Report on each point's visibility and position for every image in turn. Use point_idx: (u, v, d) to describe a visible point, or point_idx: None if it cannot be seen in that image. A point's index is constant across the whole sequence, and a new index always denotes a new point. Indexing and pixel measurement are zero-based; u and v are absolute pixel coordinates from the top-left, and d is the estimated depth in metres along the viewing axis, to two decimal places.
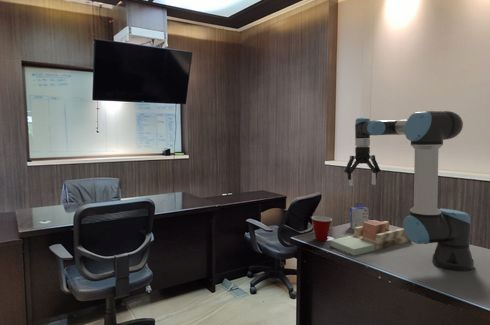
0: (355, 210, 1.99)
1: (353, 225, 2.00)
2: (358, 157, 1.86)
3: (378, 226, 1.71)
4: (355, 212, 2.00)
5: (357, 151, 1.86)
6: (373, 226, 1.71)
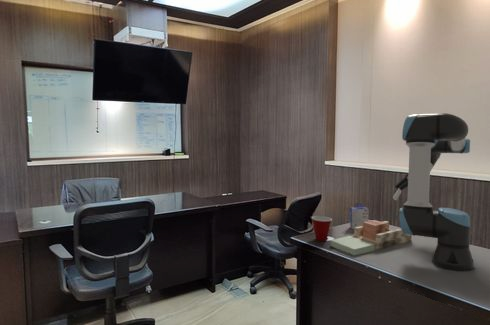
0: (355, 210, 1.99)
1: (353, 225, 2.00)
2: None
3: (378, 226, 1.71)
4: (355, 212, 2.00)
5: None
6: (373, 226, 1.71)
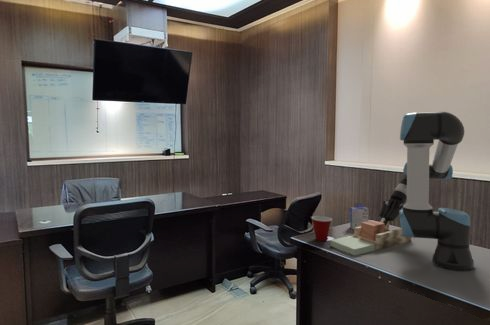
0: (355, 210, 1.99)
1: (353, 225, 2.00)
2: (390, 200, 1.85)
3: (377, 226, 1.70)
4: (355, 212, 2.00)
5: None
6: (371, 227, 1.70)
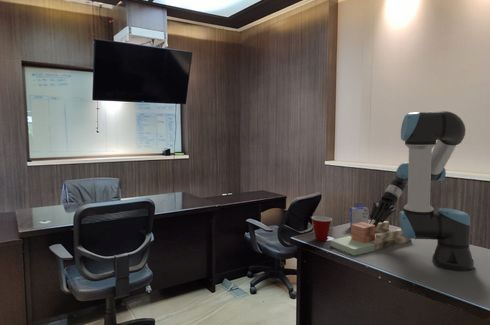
0: (355, 210, 1.99)
1: None
2: (380, 201, 1.82)
3: (367, 228, 1.67)
4: (355, 212, 2.00)
5: None
6: (362, 229, 1.67)
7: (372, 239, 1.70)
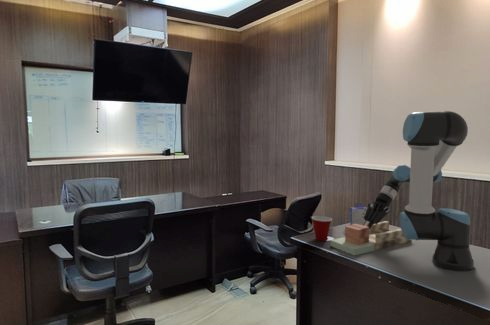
0: (355, 210, 1.99)
1: None
2: (374, 203, 1.79)
3: (361, 230, 1.65)
4: (355, 212, 2.00)
5: None
6: (356, 231, 1.64)
7: (366, 241, 1.67)
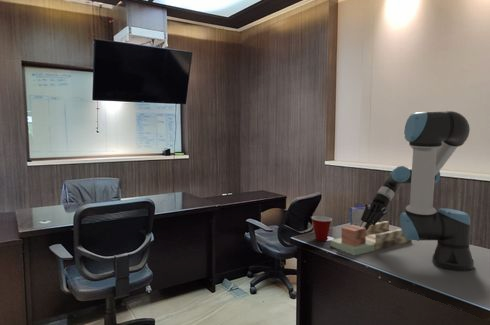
0: (355, 210, 1.99)
1: None
2: (372, 203, 1.78)
3: (358, 231, 1.63)
4: (355, 212, 2.00)
5: None
6: (352, 232, 1.63)
7: (363, 242, 1.66)
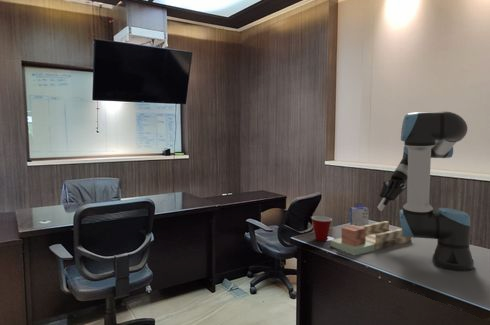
0: (355, 210, 1.99)
1: None
2: (390, 180, 1.84)
3: (358, 231, 1.63)
4: (355, 212, 2.00)
5: None
6: (352, 232, 1.63)
7: (363, 242, 1.66)
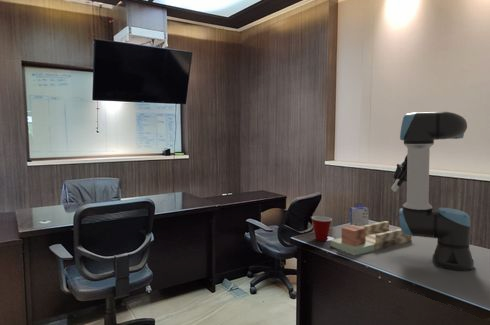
0: (355, 210, 1.99)
1: None
2: (403, 162, 1.87)
3: (358, 231, 1.63)
4: (355, 212, 2.00)
5: None
6: (352, 232, 1.63)
7: (363, 242, 1.66)
